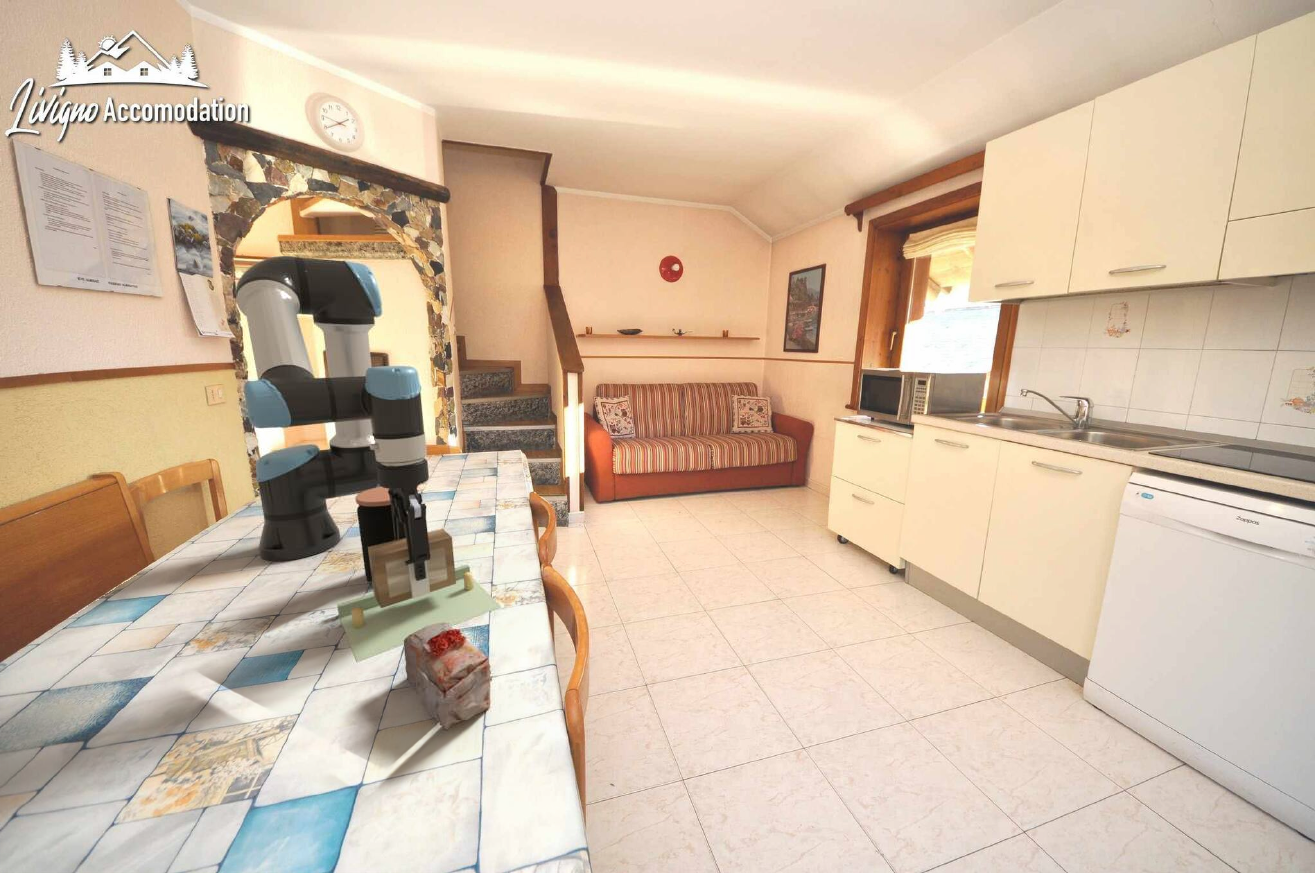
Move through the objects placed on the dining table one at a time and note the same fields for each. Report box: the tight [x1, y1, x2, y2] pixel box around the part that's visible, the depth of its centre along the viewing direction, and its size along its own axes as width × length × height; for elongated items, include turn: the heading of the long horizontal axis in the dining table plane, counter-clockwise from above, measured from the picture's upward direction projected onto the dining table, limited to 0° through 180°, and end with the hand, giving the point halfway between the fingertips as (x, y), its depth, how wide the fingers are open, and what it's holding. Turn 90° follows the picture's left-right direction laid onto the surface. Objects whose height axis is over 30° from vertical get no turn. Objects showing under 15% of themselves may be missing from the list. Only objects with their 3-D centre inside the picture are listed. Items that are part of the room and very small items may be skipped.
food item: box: [403, 622, 493, 731], centre depth 63 cm, size 14×8×10 cm, turn 50°
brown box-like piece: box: [368, 528, 456, 608], centre depth 82 cm, size 5×12×9 cm, turn 132°
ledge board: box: [336, 564, 502, 663], centre depth 82 cm, size 16×22×4 cm
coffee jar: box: [354, 487, 395, 583], centre depth 95 cm, size 11×11×18 cm
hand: (416, 588), depth 83 cm, fingers closed on brown box-like piece, 5 cm apart
